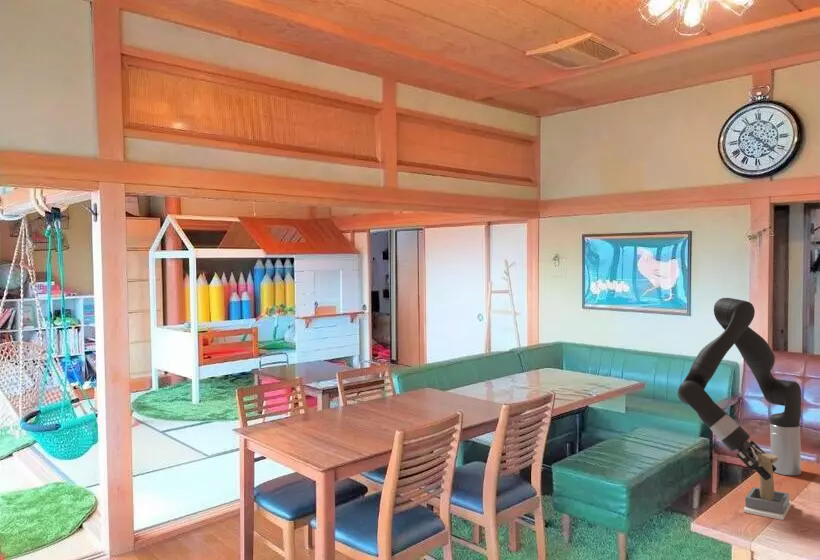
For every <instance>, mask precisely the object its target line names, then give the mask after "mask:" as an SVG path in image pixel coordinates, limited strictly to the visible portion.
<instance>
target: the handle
mask: <svg viewBox="0 0 820 560" xmlns="http://www.w3.org/2000/svg"><path fill="white" fill-rule="evenodd" d="M757 457H758V458H759V460H758V461H759V463H760V464H761V466H762V467H763V468H764V469H765V470H766V471H767V472H768V473H769V474H770V475H771V478H769V479H768V480H765V479H764V478H763V477H762V476H761V475H760V474H759V485H758V486H759V488H760V496H761V498H762V499H763V500H768V501H774V491H775V482H774V481H775V480H774V472H773V469H772V464H773V463H775V462H776V461H777V456H776V455H773V454H771V453H766V454H758V455H757Z"/></svg>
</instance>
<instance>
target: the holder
mask: <svg viewBox="0 0 820 560" xmlns="http://www.w3.org/2000/svg"><path fill="white" fill-rule="evenodd" d="M791 506H792V500H790V493H789V492H784V491H777V490H774V501H768V500H763V499H762V498H761V496H760V487H755V486H753V487H751V489H750V490H749V491H748V493H747V494H746V496H745V506H744V508H743V513H745V512H746V514H751V515H755V516H760V517H765V518H769V519H770V518H771V519H776V520H780V521H784V519H785V518H786V516H787V513H788V511H789V509H790V508H791Z"/></svg>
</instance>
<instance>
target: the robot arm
mask: <svg viewBox="0 0 820 560" xmlns="http://www.w3.org/2000/svg"><path fill="white" fill-rule="evenodd" d="M755 312H756V310H755V306H754V305H753V304H752V303H751V302H750V301H747V300H742V299H737V298H732V297H722V298H719V299H718V300H717V301H715V303H714V306H713V314H714V317H715V319H716V321H717V322H718V323H719V325H720V326H721V328H722V329H723V332H722V333H721V334H720V335H718V336H717V337H716V338H715V339H713V340H712V341H710V342H709V343H707V344H706V345H705V346H704V347H703V348H702V349H701V350H700V351H699V353H698V354H697V356H696V357H695V359H694V361H693V363H692V365H691V367H690V369H689V372H688V374H687V376H685V378H684V380H683V381H682V383H681V384H680V385H679V386H678V387H679V388H678V389H677V397H678V399H679V400H680V401H681V402H682V403H684V404H685V405H689V406H690V407H691V408H692V409H693V410H694V411H695V412H696V413H697V416H698V417H699V419H700V420H701V421H702V422H703V423H704V424H705V425H706V426H707V427H708V429H710V430H711V432H712V433H713V434H714V435H715V436H716V437H717V439H719V441H721V443H722V444H723V445H724V446H725V447H726V448H727V449H729V451H731V452H734V451H736V450H737V451H738V453H736V456H737V457H738V458H739V459H740V460H741V462H742V463H744V464H745V466H747V468H748V469H749V470H750V471H755V472H757V474H758V475H759V476H760V475H761V476H762V477H763V478H764V479H765V480H768V479H769V478H771V475H770V474H769V473H768V472H767V471H766V470H765V469H764V468H763V467H762V466H761V464H760V463H759V461H758V460H759V458H758V457H757V455H758V454H767V453H766V452H765V451H764V450H763V449H762V448H761V447H760V446H759V445H757V444H756V442H754V441H753V440H750V441H748V440H749V439H750V438H751V436H750V434H748V432H747V431H746V430H745V429H743V427H742V426H741V425H740V424H739V423H737V421H736V420H735V419H734V418H732V417H731V416H729V414H727V412H725V410H723V408H721V407H720V406H719V405H718V404H717V403H715V401H714V400H713V398H712V397H711V396H710V394H708V392H707V391H706V390H705V389H706V387H707V385H708V383H709V381H711V379H713V378H712V377H713V376H714V374H715V373H716V371H717V369H718V367H719V366H720V364H721V362H722V361H723V359H724V358H725V356H726V355H727V353H729V351H730V350H731V348H732V347H733V346H735V347H736V348H737V350H738V352H739V353H740V355H741V357H742V359H743V360H744V361H745V364H746V365H747V366H748V368H749V369H750V371H751V373H752V375H753V376H754V378H755V380H756V382H757V384H758V387H759V388H760V391H761V393H762V396H763V397H764V399H765V400H766V402H768V403H770V404H772V405H777V406H783V407H784V410H783V411H782V412H780V413H773V414H771V415H770V416H769V429H770V430H769V432H770V435H769V436H770V454H773V455H776V456H777V461H776V462H775V463H773V464H772V469H773V473H776V474H780V475H785V476H800V475H801V474H802V453H801V451H802V450H801V429H800V428H801V427H800V426H801V423H800V422H801V416H802V390H801V386H800V384H799V383H798V382H797V381H793V380H786V379H779V378H775V377H774V375H773V374H772V373H771V372H772V369H773V367H774V365H775V361H776V360H775V358H776V357H775V354H774V351H773V350H772V348H771V346H770V345H769V343H768V342H767V341H766V340H765V339H764V338H763V336H761V335H760V334H759V333H757V332H756V331H754V329H752V328H750V327H749V326H750V325H751V324H752V322H753V319H754V317H755V314H756V313H755Z"/></svg>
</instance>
